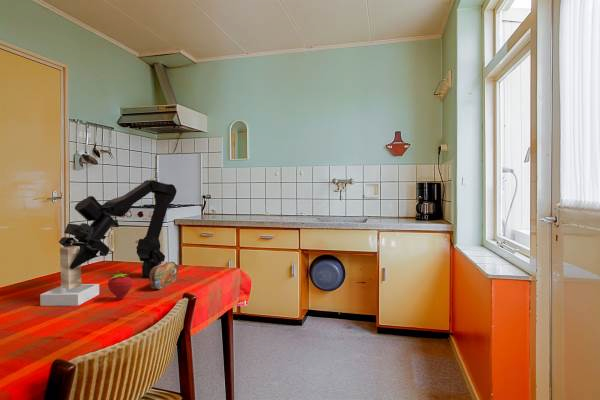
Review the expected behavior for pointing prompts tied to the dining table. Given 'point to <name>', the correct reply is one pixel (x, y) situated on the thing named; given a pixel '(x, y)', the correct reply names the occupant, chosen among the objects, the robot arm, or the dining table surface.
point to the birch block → (68, 275)
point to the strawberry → (120, 285)
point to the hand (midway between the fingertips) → (66, 267)
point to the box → (69, 295)
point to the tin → (163, 275)
